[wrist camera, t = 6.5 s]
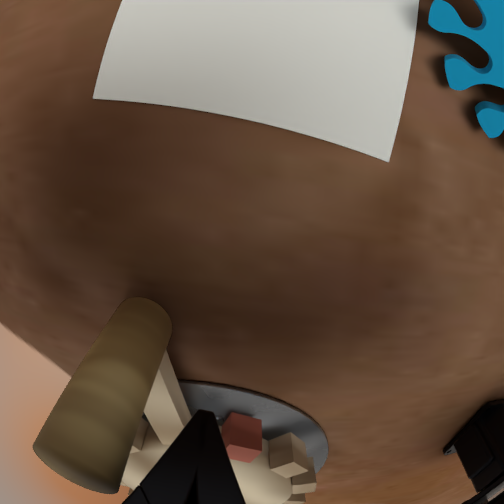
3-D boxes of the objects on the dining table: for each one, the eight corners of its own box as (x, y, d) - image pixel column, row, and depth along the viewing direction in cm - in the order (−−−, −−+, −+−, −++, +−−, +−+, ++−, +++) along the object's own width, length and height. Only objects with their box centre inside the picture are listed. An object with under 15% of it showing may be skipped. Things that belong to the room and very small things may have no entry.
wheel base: (371, 400, 14) (373, 404, 14) (283, 502, 20) (284, 505, 20) (75, 343, 13) (73, 347, 13) (107, 471, 19) (106, 473, 18)
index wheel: (142, 286, 11) (52, 438, 4) (349, 469, 16) (366, 550, 10) (19, 387, 14) (-27, 458, 7) (201, 507, 19) (194, 569, 13)
